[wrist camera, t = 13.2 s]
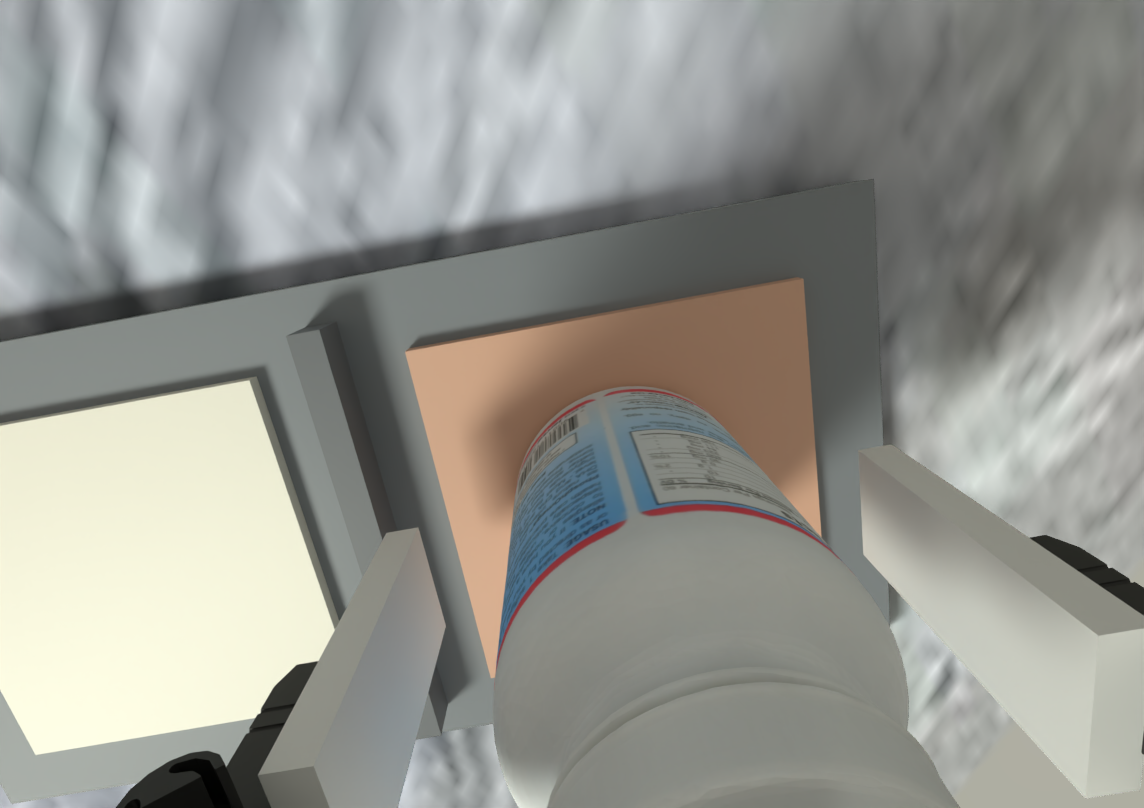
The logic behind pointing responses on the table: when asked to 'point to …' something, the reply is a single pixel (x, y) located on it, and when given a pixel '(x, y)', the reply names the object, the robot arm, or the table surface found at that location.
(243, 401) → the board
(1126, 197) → the table surface
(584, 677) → the pill bottle
